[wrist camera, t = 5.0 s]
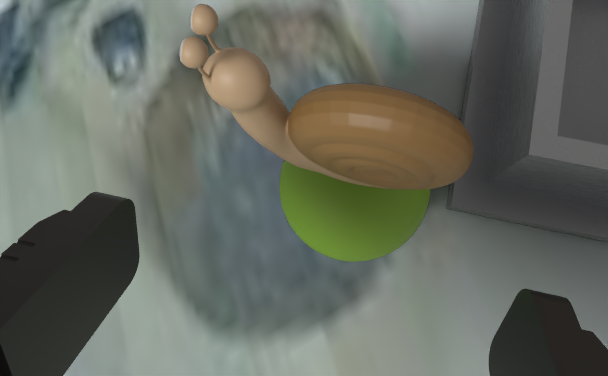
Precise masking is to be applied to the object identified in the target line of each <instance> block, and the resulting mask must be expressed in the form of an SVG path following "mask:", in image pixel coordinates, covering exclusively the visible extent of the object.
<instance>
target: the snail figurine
mask: <svg viewBox="0 0 608 376" xmlns="http://www.w3.org/2000/svg"><path fill="white" fill-rule="evenodd" d="M217 26H218V16H217V14H216V12H215V11H214V9H213V8H211V7H210V6H208V5H205V4H199V5H197V6H195V7H194V8H193V9H192V12H191V14H190V27H191V29H192V30H193V31H194V32H195V33H196V34H198V35H201V36H207V38H208V40H209V42H210V43H211V45H212V47H213V48H214V49H215V51H216V52H215V53H214V54H213V55H212V56H210V57H209V58H208V48H207V46H206V44H205V43H204V42H203V41H202V40H201V39H199V38H197V37H188V38H186V39H184V40H183V42H182V44H181V46H180V50H179V57H180V60H181V62H182V63H183V64H184V65H185V66H187V67H189V68H198V69H199V71H200V72H201V73H202V77H203V81H204V84H205V87H206V89H207V92H208V93H209V95H210V96H211V98H212V99H213V100H214V101H216V102H217V103H218V104H220V105H221V106H223V107H225V108H227V109H229V110H230V111H231V112H232V114H233V116H234V117H235V119H236V120H237V121H238V123H239V124H240V125H241V126H242V128H243V129H244V130H245V131H246V132H247V133H248V134H249V135H250V136H251V137H252V138H254V139H255V140H256V141H257V142H258V143H260V144H261V145H263V146H264V147H265V148H267V149H268V150H269V151H271V152H273V153H274V154H276V155H278V156H279V157H281V158H282V159H284V162H283V165H282V169H281V174H280V186H279V187H280V199H281V204H282V207H283V210H284V213H285V216H286V218H287V220H288V222H289V224H290V225H291V227H292V229H293V230H294V231H295V233H296V234H297V235H298V236H299V237H300V238H301V239H302V240H303V241H304V242H305V243H306V244H307V245H308V246H310V247H311V248H313V249H314V250H316V251H317V252H319V253H321V254H323V255H326V256H328V257H331V258H334V259H338V260H343V261H367V260H372V259H376V258H379V257H382V256H384V255H387V254H389V253H391V252H393V251H394V250H396V249H397V248H399V247H400V246H401V245H403V244H404V243H405V242H406V241H407V240H408V239H409V238H410V237H411V236H412V235H413V234H414V232H415V231H416V230H417V228H418V227H419V225H420V224H421V222H422V220H423V218H424V216H425V213H426V210H427V207H428V203H429V198H430V189H433V188H439V187H443V186H446V185H449V184H451V183H453V182H455V181H457V180H458V179H460V178H461V177H462V176H463V175H464V174H465V173H466V171H467V170H468V169H469V167H470V165H471V162H472V159H473V143H472V140H471V137H470V135H469V133H468V131H467V129H466V128H465V126H464V125H463V124H462V123H461V122H460V121H459V119H457V118H456V117H455V116H454V115H452V114H451V113H450V112H449V111H447V110H446V109H444V108H442V107H441V106H439V105H437V104H435V103H433V102H431V101H429V100H427V99H425V98H422V97H420V96H417V95H415V94H412V93H408V92H405V91H402V90H398V89H394V88H389V87H384V86H378V85H370V84H357V83H345V84H335V85H329V86H324V87H321V88H317V89H314V90H312V91H310V92H309V93H307V94H305V95H304V96H303V97H301V98H300V99H299V100H298V101H297V103H296V104H295V105H294V107H293V109H292V111H291V113H290V112H289V110H288V109H287V107H286V106H285V104H284V103H283V101H282V100H281V99H280V98H279V96H278V95H277V94H276V93H275V92H274V90H273V89H272V88H271V87H270V84H271V81H270V75H269V71H268V69H267V67H266V65H265V64H264V63H263V61H262V60H261V59H260V58H259V57H258V56H256V55H255V54H254V53H252V52H250V51H248V50H245V49H242V48H235V47H232V48H225V49H220V48H219V47H218V46H217V45H216V44H215V42H214V41H213V39H212V37H211V35H210V34H212V33H213V32H214V31H215V30H216V28H217ZM207 59H208V60H207ZM204 64H205V65H204ZM203 65H204V68H202V67H201V66H203Z"/></svg>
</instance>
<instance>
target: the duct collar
mask: <svg viewBox="0 0 608 376" xmlns="http://www.w3.org/2000/svg"><path fill="white" fill-rule="evenodd" d="M460 122H461V123H462V124H463V125H464V126H465V128H466V129H467V131H468V133H469V135H470V137H471V140H472V143H473V159H472V162H471V165H470V167H469V169H468V170H467V171H466V173H465V174H464V175H463V176H462V177H461V178H460V179H458V180H457V181H455V182H453V183H451V184H450V188H449V194H448V200H447V206H446V209H450V210H455V211H460V212H465V213H470V214H475V215H479V216H484V217H489V218H494V219H499V220H503V221H508V222H513V223H518V224H523V225H528V226H532V227H537V228H542V229H547V230H552V231H556V232H561V233H566V234H571V235H576V236H580V237H585V238H590V239H595V240H600V241H605V242H608V0H480V3H479V9H478V15H477V21H476V27H475V34H474V40H473V46H472V52H471V58H470V64H469V71H468V77H467V83H466V89H465V95H464V101H463V108H462V114H461V120H460Z"/></svg>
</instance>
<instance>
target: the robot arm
mask: <svg viewBox="0 0 608 376" xmlns="http://www.w3.org/2000/svg"><path fill="white" fill-rule="evenodd" d="M138 263H139V244H138V234H137V224H136V214H135V206H134V203H133V202H132V201H131V200H130V199H126V198H122V197H118V196H113V195H109V194H104V193H100V192H93V193H91V194H89V195H88V196H87V197H86V198H85V199H84V200H83V201H81V202H80V203H79V204H78V205H77V206H76V207H75V208H74V209H73V210H72V211H68V210H62V211H60V212H58V213H56V214H54V215H52V216H50V217H48V218H46V219H44V220H42V221H39V222H38V223H37V224H35V225H34V226H33V227H32V228H31V229H30V230H28V231H27V232H26V233H25V234H24V235H23V236H22V237H20V238H19V239H18V242H17V243H13V244H12V245H11V246H10V247H9V248H8V249H7V250H5V251H4V252H3V253H2V255H1V257H0V376H63V375H64V374H65V372H66V371H67V369H68V368H69V367H70V365H71V364H72V363H73V361H74V360H75V358H76V357H77V356H78V354H79V353H80V352H81V350H82V349H83V347H84V346H85V345H86V343H87V342H88V341H89V339H90V338H91V336H92V335H93V334H94V332H95V331H96V330H97V328H98V327H99V325H100V324H101V323H102V321H103V320H104V319H105V317H106V316H107V314H108V313H109V312H110V310H111V309H112V308H113V306H114V305H115V303H116V302H117V301H118V299H119V298H120V297H121V295H122V294H123V292H124V291H125V290H126V288H127V287H128V286H129V284H130V283H131V281H132V279H133V278H134V276H135V273H136V271H137V267H138ZM489 372H490V376H608V350H607V348H606V347H605V346H604V345H603V344H602V343H601V341H600V340H599V339H598V338H597V337H596V336H595V334H594V333H593V332H591V331H586V330H582V329H581V327H580V325H579V322H578V320H577V317H576V315H575V312H574V310H573V307H572V305H571V303H570V302H569V300H568V299H566V298H564V297H560V296H556V295H551V294H547V293H542V292H538V291H533V290H529V289H523V290H521V291H520V292H519V293H518V294H517V296H516V298H515V300H514V302H513V303H512V305H511V307H510V309H509V311H508V312H507V314H506V316H505V318H504V320H503V322H502V323H501V325H500V327H499V329H498V331H497V333H496V334H495V336H494V338H493V341H492V344H491V347H490V353H489Z"/></svg>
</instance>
